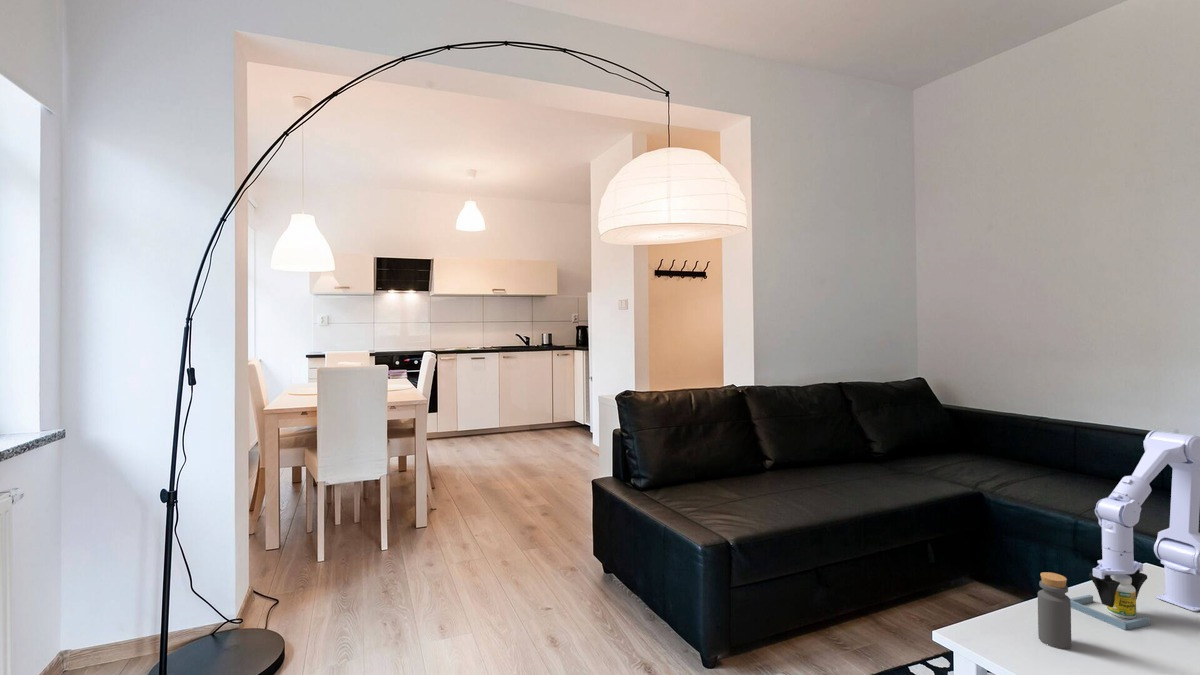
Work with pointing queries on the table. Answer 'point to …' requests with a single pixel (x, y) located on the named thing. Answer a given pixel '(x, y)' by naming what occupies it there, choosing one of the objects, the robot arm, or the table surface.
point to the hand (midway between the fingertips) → (1118, 602)
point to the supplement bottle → (1124, 598)
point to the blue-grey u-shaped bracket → (1125, 625)
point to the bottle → (1054, 611)
